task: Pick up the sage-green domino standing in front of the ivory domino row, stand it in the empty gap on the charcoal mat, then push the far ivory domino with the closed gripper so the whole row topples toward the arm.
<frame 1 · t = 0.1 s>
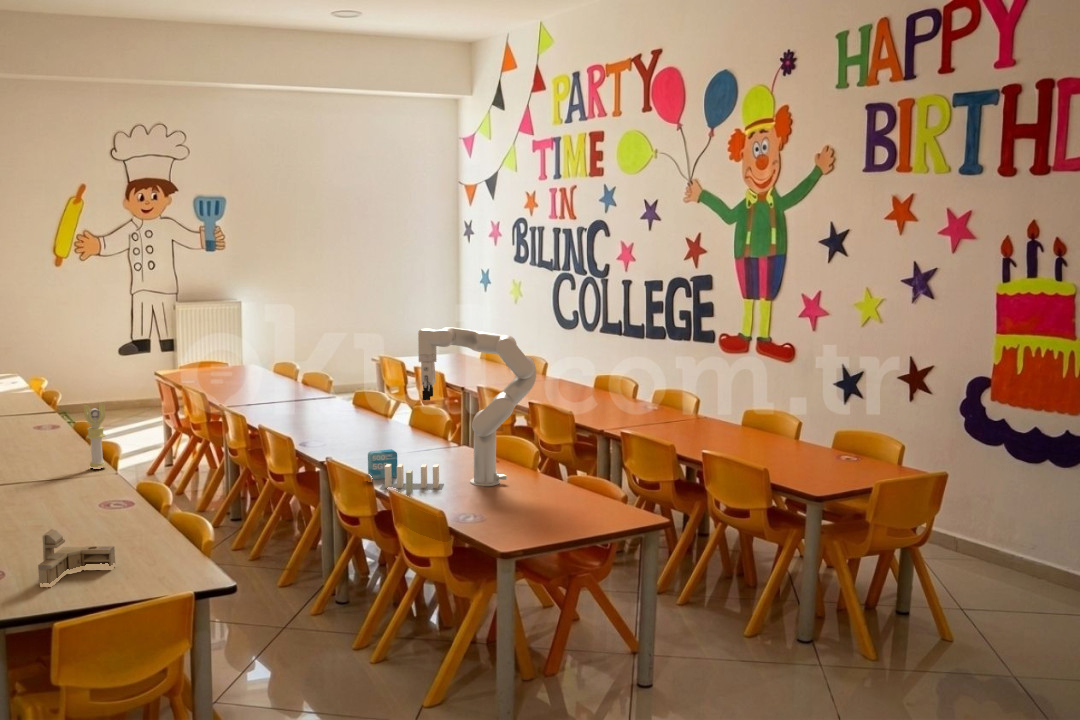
hand: (427, 398, 427), 37 cm above the table, tool pointing down, fingers open, 9 cm apart
domino 2: (400, 486, 424), resting on domino mat
domino 4: (424, 486, 424), resting on domino mat
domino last: (436, 486, 424), resting on domino mat
toy kitchen set: (77, 578, 315), on the table
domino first: (388, 486, 424), resting on domino mat
domino mat: (412, 487, 424), on the table
data package: (382, 478, 440), on the table
trophy: (97, 469, 455), on the table
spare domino: (409, 492, 416), on the table
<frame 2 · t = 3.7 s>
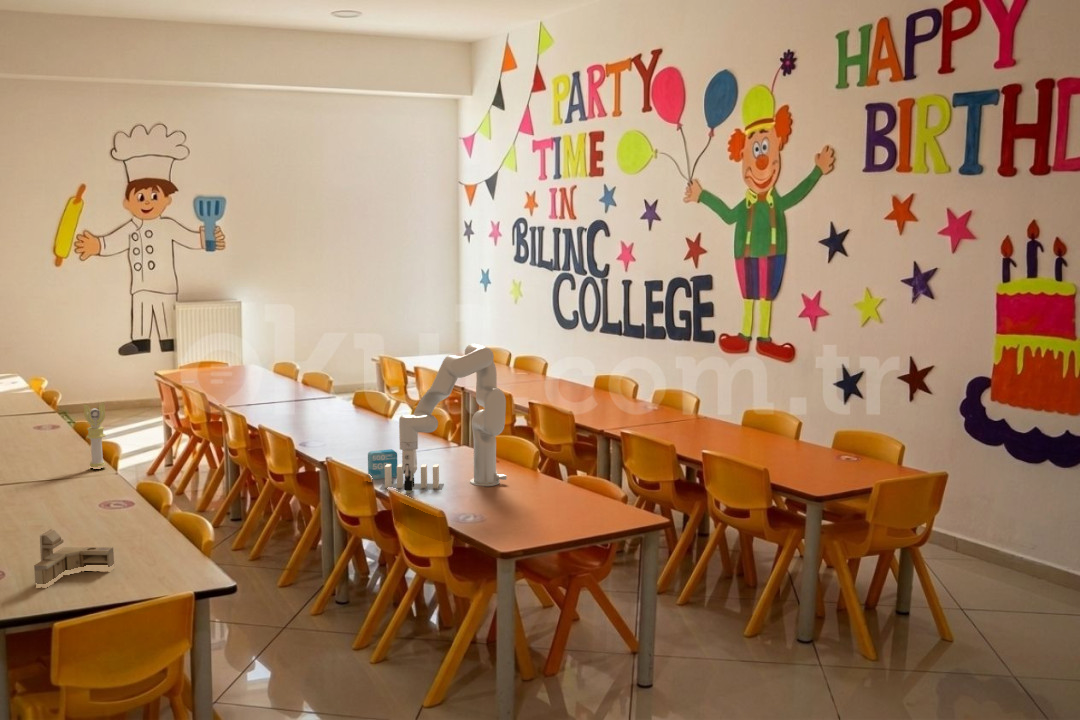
hand: (409, 488, 416), 2 cm above the table, tool pointing down, fingers closed on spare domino, 4 cm apart
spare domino: (409, 492, 416), on the table, touching gripper
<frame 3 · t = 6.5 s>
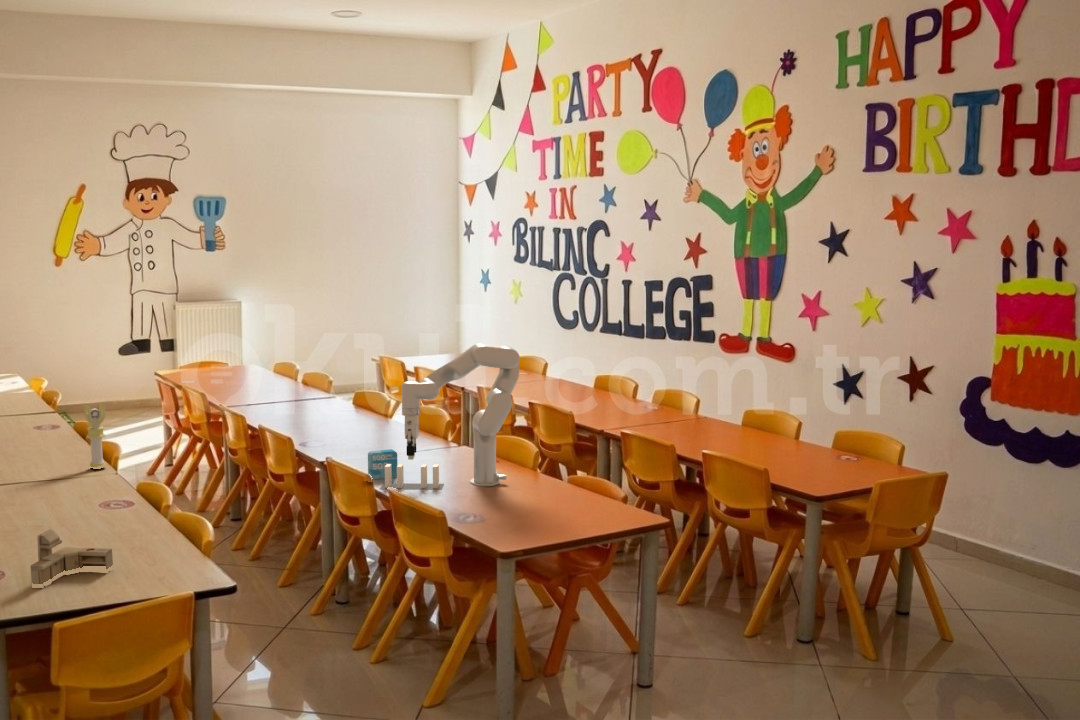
hand: (411, 453, 422), 15 cm above the table, tool pointing down, fingers closed on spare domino, 4 cm apart
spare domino: (411, 458, 422), point 13 cm above the table, touching gripper
when the fingers open (3 cm above the table, at t = 9.3 s): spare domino stays where it is, resting on domino mat.
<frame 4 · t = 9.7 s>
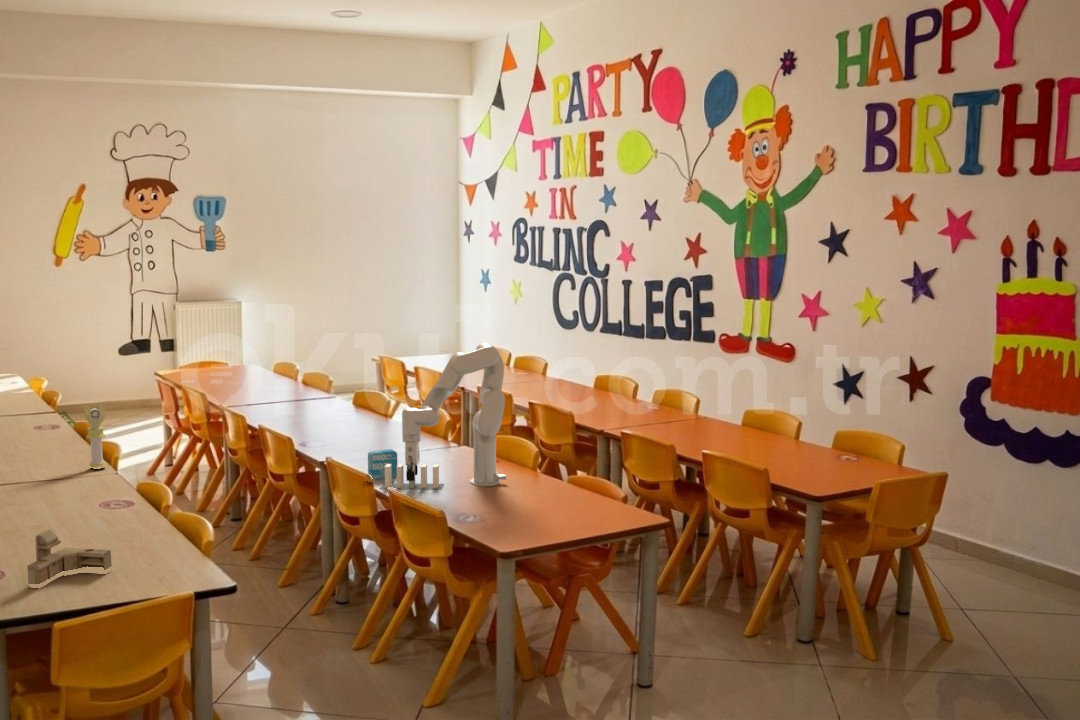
hand: (412, 477, 423), 4 cm above the table, tool pointing down, fingers open, 9 cm apart
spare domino: (412, 486, 424), resting on domino mat
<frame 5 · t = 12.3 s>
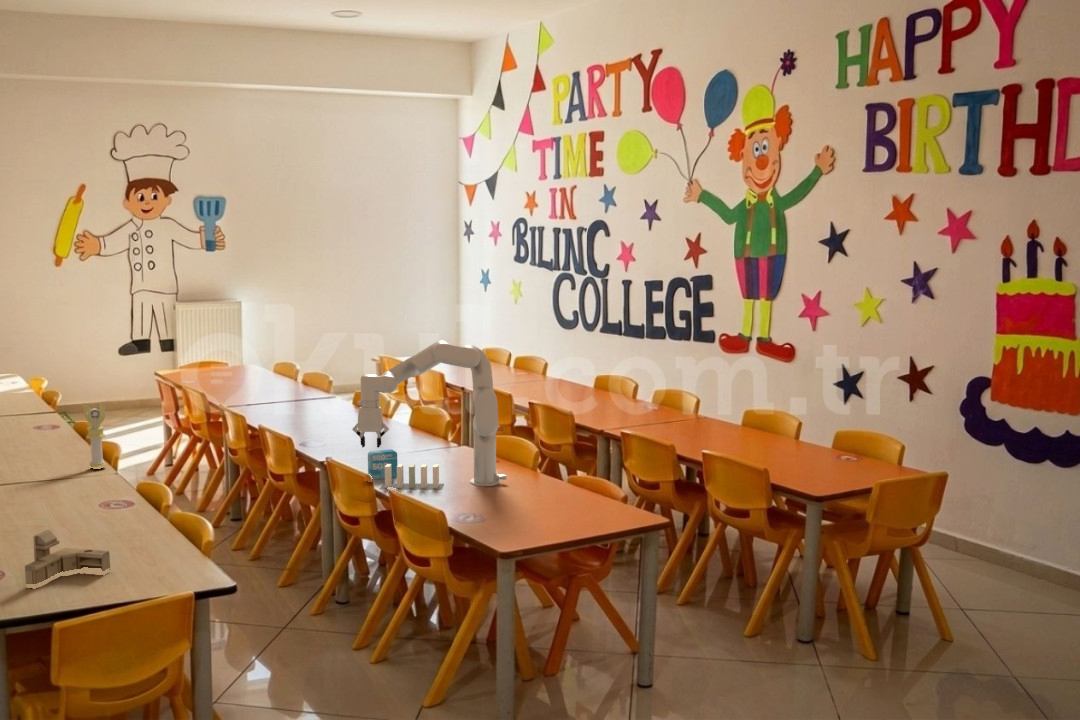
hand: (371, 446, 422), 18 cm above the table, tool pointing down, fingers open, 5 cm apart
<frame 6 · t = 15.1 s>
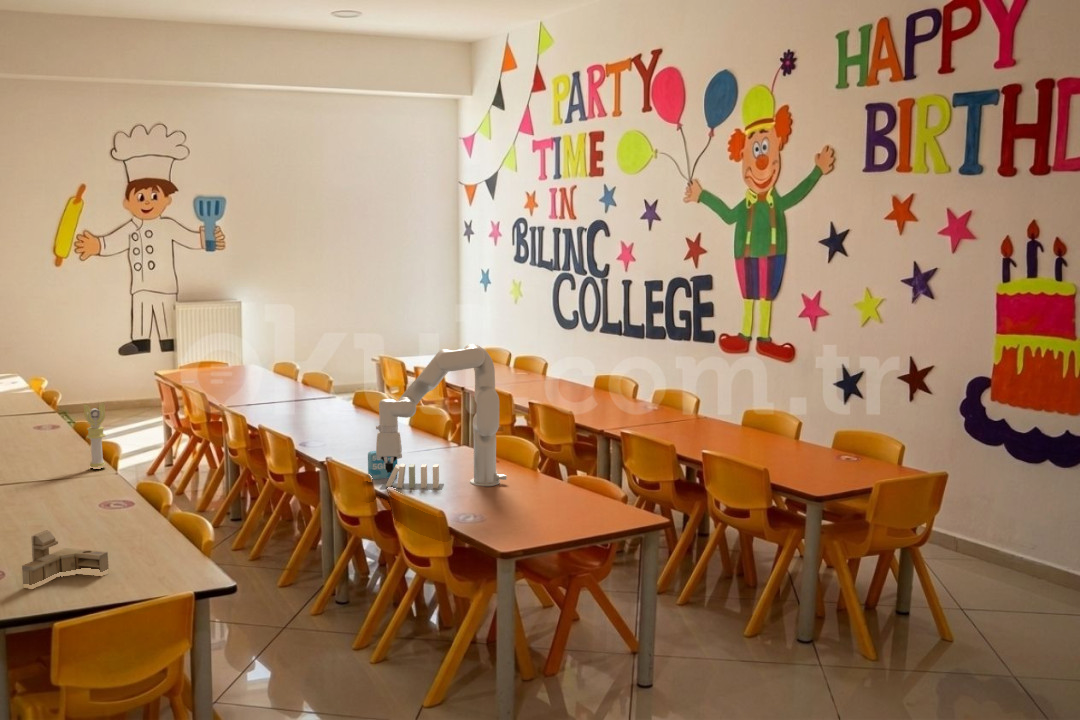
hand: (389, 471, 423), 7 cm above the table, tool pointing down, fingers closed
domino 2: (400, 486, 424), point 1 cm above the table, tilted 7°, touching domino mat
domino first: (388, 485, 424), point 1 cm above the table, tilted 26°, touching domino mat
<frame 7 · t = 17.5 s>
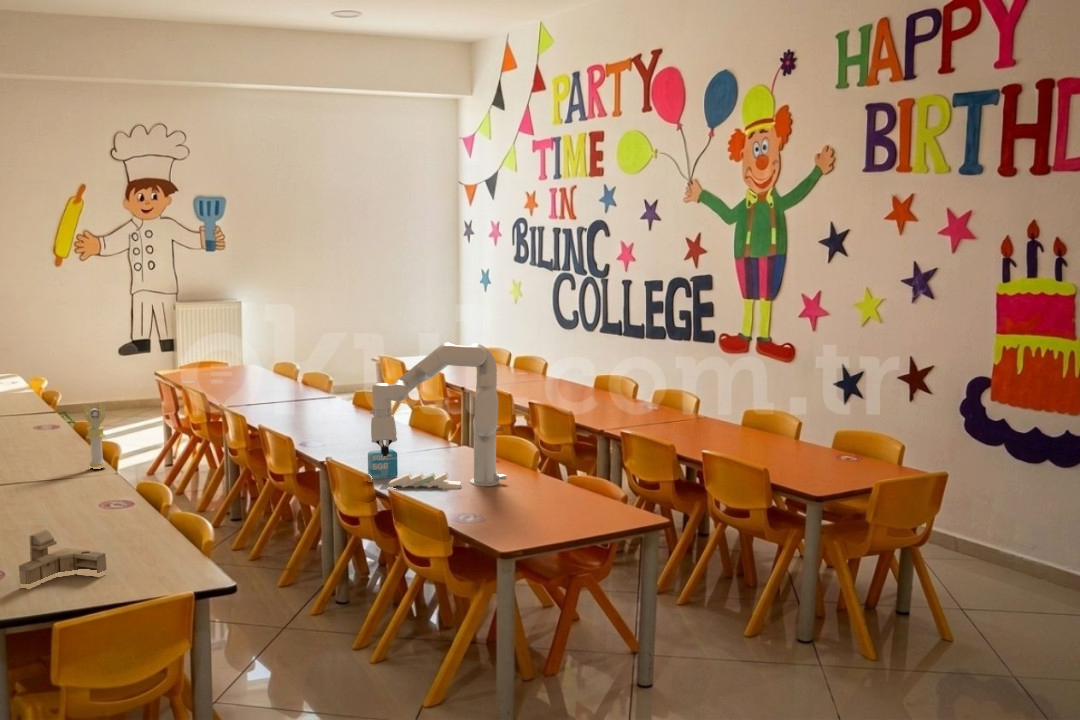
hand: (385, 455, 426), 13 cm above the table, tool pointing down, fingers closed
domino 2: (402, 484, 424), point 1 cm above the table, tilted 66°, touching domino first, domino mat, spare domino
domino 4: (428, 484, 424), point 1 cm above the table, tilted 63°, touching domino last, domino mat, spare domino
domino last: (438, 484, 424), point 2 cm above the table, tilted 94°, touching domino 4, domino mat
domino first: (390, 484, 424), point 1 cm above the table, tilted 66°, touching domino 2, domino mat
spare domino: (414, 484, 424), point 1 cm above the table, tilted 67°, touching domino 2, domino 4, domino mat
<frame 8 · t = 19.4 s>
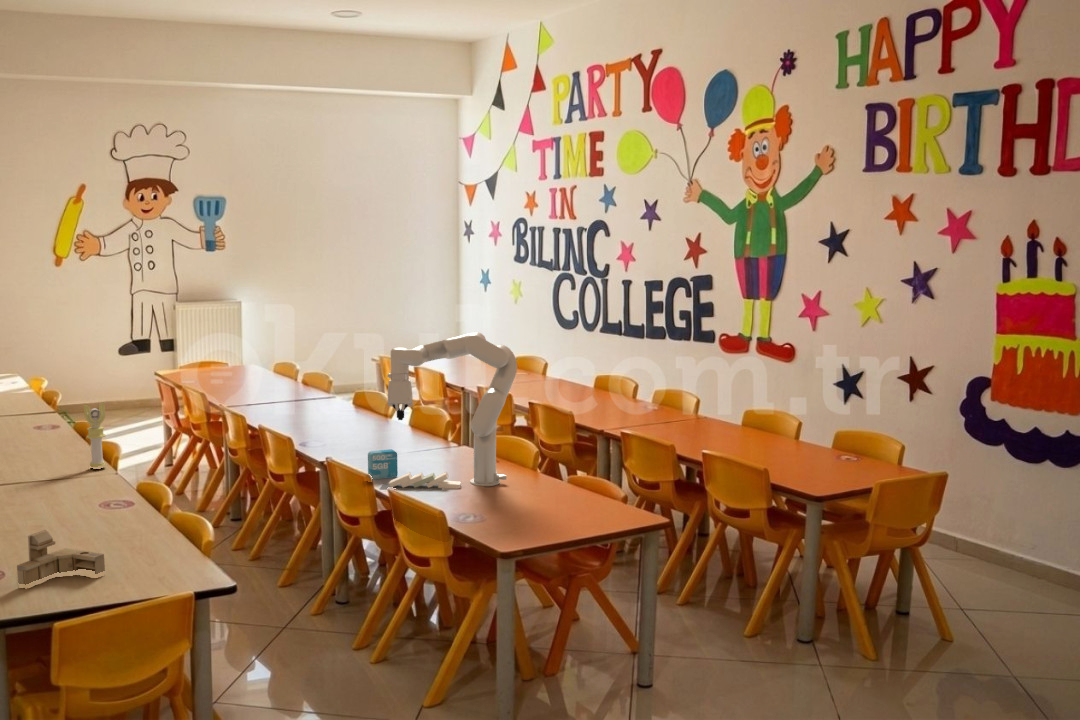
hand: (400, 419, 430), 27 cm above the table, tool pointing down, fingers closed
at the end: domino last tilted 94°; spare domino tilted 67°; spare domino 1.0 cm from the target spot, point 1.4 cm above the table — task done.
